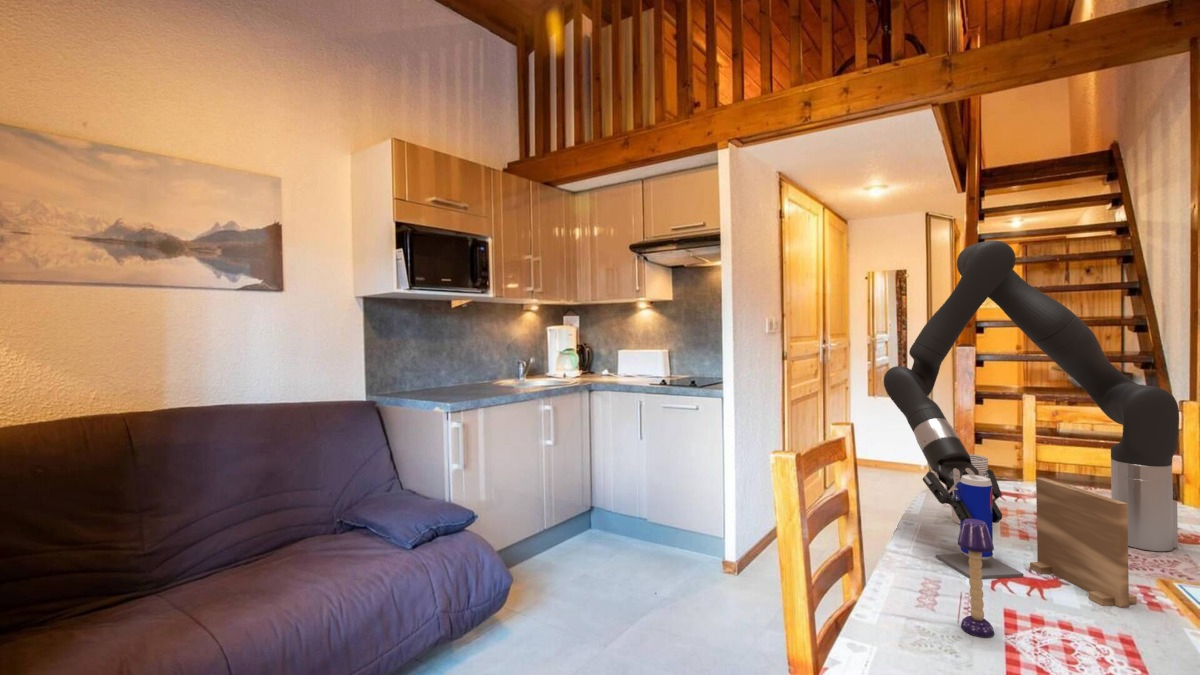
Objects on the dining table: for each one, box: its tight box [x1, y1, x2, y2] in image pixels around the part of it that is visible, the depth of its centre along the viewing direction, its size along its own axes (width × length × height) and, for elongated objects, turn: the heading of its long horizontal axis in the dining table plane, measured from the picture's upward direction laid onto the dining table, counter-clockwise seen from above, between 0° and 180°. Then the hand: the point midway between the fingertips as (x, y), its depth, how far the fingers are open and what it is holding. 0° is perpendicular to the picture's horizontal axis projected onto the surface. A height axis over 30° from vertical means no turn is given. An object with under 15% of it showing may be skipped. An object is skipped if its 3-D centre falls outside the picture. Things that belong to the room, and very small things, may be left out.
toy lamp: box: [957, 519, 995, 638], centre depth 85 cm, size 5×5×17 cm
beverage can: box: [959, 475, 994, 560], centre depth 107 cm, size 5×5×15 cm
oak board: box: [1029, 477, 1138, 608], centre depth 99 cm, size 6×16×17 cm, turn 3°
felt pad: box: [935, 552, 1025, 580], centre depth 107 cm, size 10×10×1 cm
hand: (983, 521), depth 105 cm, fingers closed on beverage can, 5 cm apart
